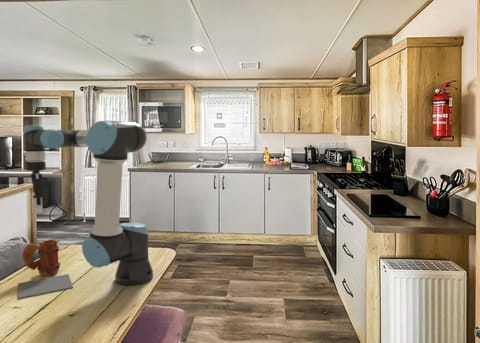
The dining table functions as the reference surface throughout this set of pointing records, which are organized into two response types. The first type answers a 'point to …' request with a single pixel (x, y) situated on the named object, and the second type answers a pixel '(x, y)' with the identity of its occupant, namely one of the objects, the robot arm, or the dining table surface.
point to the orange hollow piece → (43, 257)
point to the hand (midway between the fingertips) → (38, 209)
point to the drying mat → (44, 286)
